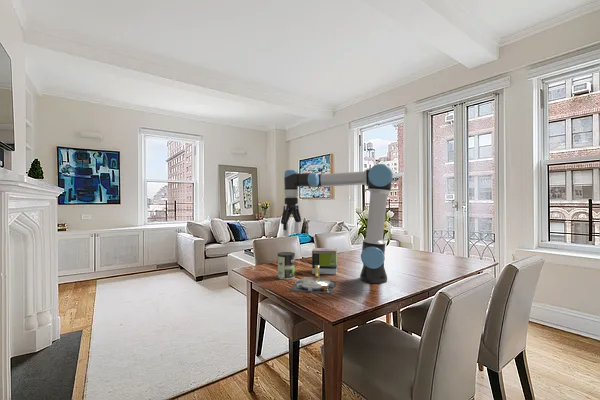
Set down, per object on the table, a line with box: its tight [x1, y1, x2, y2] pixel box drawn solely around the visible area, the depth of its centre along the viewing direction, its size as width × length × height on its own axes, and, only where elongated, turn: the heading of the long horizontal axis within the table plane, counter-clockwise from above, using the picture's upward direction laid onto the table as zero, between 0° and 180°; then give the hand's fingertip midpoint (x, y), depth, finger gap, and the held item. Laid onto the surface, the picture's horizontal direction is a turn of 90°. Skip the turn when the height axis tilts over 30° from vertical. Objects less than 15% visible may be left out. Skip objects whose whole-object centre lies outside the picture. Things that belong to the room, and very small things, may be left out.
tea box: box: [311, 247, 338, 275], centre depth 186 cm, size 15×10×15 cm
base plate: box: [289, 280, 338, 295], centre depth 157 cm, size 21×21×1 cm
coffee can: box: [277, 251, 296, 280], centre depth 175 cm, size 10×10×14 cm
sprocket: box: [294, 265, 335, 291], centre depth 157 cm, size 21×21×9 cm
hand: (291, 234), depth 168 cm, fingers open, 13 cm apart
